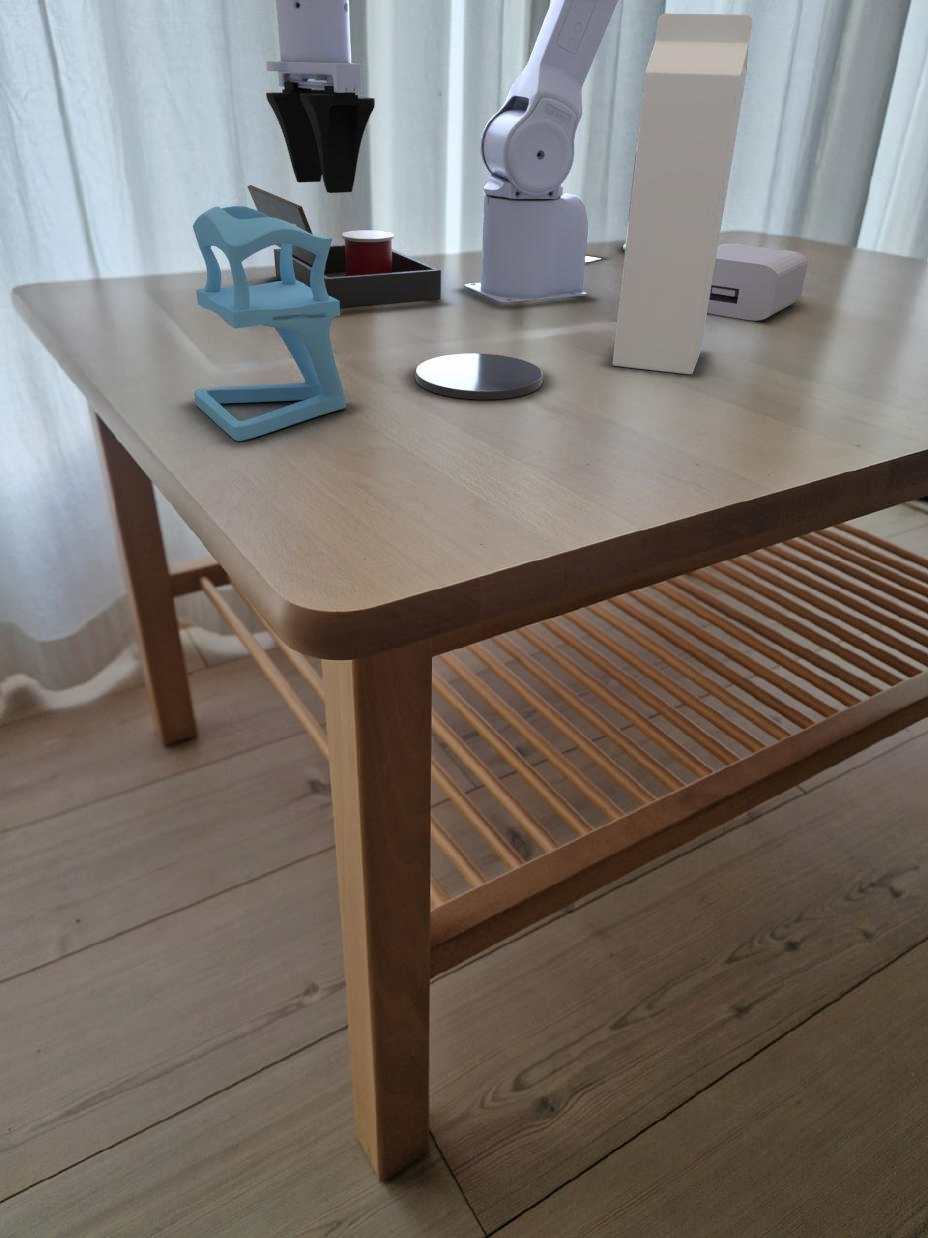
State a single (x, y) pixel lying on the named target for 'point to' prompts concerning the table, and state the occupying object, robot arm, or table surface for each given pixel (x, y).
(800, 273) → the charger
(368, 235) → the cylinder
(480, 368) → the coaster
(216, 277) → the chair
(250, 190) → the flap
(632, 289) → the milk
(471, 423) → the table surface
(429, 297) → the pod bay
